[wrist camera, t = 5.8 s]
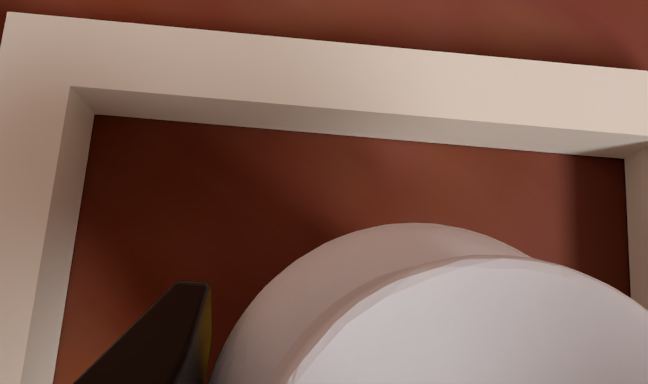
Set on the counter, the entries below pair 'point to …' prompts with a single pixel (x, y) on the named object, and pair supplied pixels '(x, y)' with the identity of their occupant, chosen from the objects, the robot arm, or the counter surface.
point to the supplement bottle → (434, 317)
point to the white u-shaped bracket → (263, 112)
